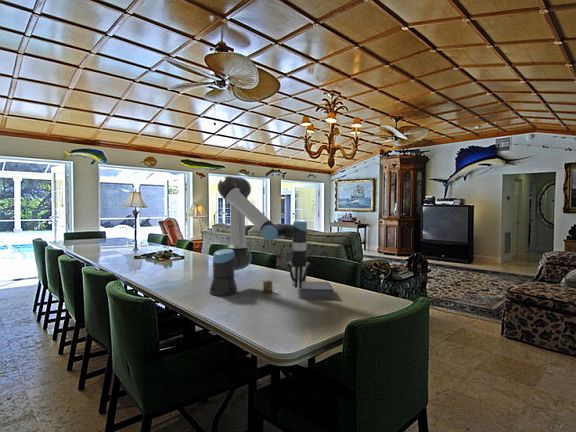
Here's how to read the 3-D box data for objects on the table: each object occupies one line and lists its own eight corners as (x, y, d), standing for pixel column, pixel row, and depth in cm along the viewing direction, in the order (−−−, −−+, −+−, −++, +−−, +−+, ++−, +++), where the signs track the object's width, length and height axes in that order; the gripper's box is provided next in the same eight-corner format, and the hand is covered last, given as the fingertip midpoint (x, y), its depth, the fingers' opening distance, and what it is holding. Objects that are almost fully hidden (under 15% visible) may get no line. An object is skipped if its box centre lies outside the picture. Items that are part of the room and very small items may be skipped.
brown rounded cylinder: (263, 293, 190) (263, 282, 190) (263, 290, 195) (263, 280, 195) (272, 293, 190) (272, 282, 190) (272, 290, 195) (272, 280, 195)
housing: (301, 298, 180) (301, 289, 180) (299, 290, 198) (299, 281, 198) (333, 298, 181) (333, 289, 181) (328, 290, 199) (328, 281, 199)
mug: (308, 285, 211) (308, 267, 210) (298, 287, 205) (299, 269, 205) (295, 281, 219) (295, 264, 219) (285, 283, 214) (285, 266, 213)
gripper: (287, 250, 179) (286, 295, 180) (311, 251, 180) (310, 295, 180) (287, 248, 187) (285, 291, 188) (310, 249, 187) (309, 292, 188)
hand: (297, 293), depth 184 cm, fingers closed
